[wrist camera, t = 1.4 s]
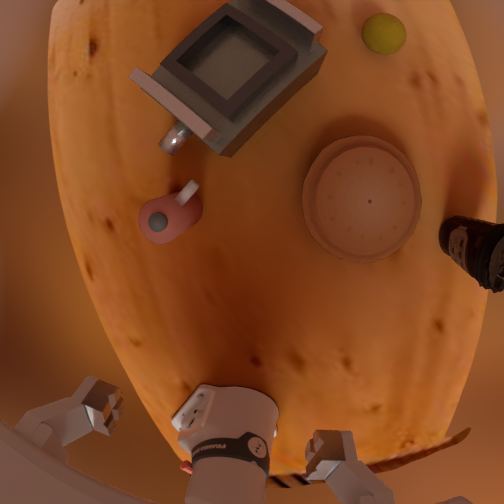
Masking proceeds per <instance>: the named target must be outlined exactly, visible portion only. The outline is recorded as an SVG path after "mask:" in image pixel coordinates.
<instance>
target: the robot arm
mask: <svg viewBox="0 0 504 504" xmlns="http://www.w3.org/2000/svg"><path fill="white" fill-rule="evenodd" d="M121 394H122V390H121V388H120V387H117V386H114V385H112V384H110V383H107V382H105V381H102V380H100V379H98V378H96V377H93V376H91V375H89V376H88V377H86V379H85V380H84V381H83V383H82V384H81V385H80V387H79V388H78V389H77V391H76V392H75V393H74V395H73V396H72V397H71V398H69V397H67V398H64V399H62V400H59V401H56V402H53V403H50V404H47V405H44V406H41V407H38V408H35V409H32V410H29V411H27V412H26V413H25V415H24V416H23V417H22V419H21V420H20V421H19V422H18V424H17V425H16V426H15V428H14V429H12V428H11V427H10V426H8V425H7V424H6V423H5V422H3V421H2V420H1V419H0V504H159V503H156V502H153V501H149V500H147V499H143V498H141V497H138V496H135V495H132V494H130V493H127V492H125V491H122V490H120V489H117V488H114V487H112V486H110V485H108V484H105V483H103V482H101V481H99V480H97V479H94V478H92V477H90V476H88V475H86V474H84V473H82V472H80V471H78V470H76V469H75V468H73V467H71V466H69V465H67V464H66V462H67V460H68V459H69V456H68V454H67V453H66V451H65V449H64V448H63V446H65V445H67V444H69V443H70V442H72V441H74V440H76V439H78V438H80V437H82V436H83V435H85V434H87V433H89V432H90V431H92V430H93V429H94V430H96V431H98V432H101V433H103V434H105V435H108V436H110V435H111V433H112V431H113V429H114V428H115V426H116V425H115V420H117V419H119V418H120V417H121V415H122V412H123V409H124V401H123V399H122V397H121ZM278 416H279V411H278V408H277V406H276V404H275V403H274V402H273V400H272V399H270V398H269V397H268V396H266V395H265V394H263V393H261V392H258V391H256V390H253V389H249V388H244V387H216V386H211V385H206V384H202V385H200V386H199V387H198V388H197V389H196V390H195V392H194V393H193V394H192V395H191V396H190V398H189V399H188V400H187V401H186V402H185V404H184V405H183V406H182V407H181V408H180V410H179V411H178V412H177V413H176V414H175V416H174V417H173V418H172V421H171V423H172V424H173V426H174V427H175V428H176V429H177V430H178V431H179V432H180V433H179V436H178V442H179V444H180V446H181V447H182V448H183V449H184V450H185V451H187V452H188V453H189V454H190V455H191V457H192V464H191V463H190V462H189V461H187V460H185V461H184V462H183V463H182V465H181V469H182V470H184V471H187V472H188V473H190V474H191V473H192V475H191V479H190V482H189V486H188V490H187V493H186V497H185V504H265V480H266V479H267V478H268V474H269V470H270V467H269V465H270V455H271V450H272V445H273V439H274V437H275V436H276V435H277V427H276V423H277V420H278ZM305 459H306V460H307V461H308V462H309V463H308V465H307V466H306V479H314V480H325V482H326V483H327V484H328V486H329V487H330V488H331V490H332V491H333V492H334V494H335V495H336V497H337V498H338V499H339V501H340V502H341V503H342V504H395V501H394V497H393V492H392V490H391V489H389V488H388V487H387V486H386V485H385V484H384V483H383V482H382V481H381V480H380V479H379V478H378V477H377V476H376V475H375V474H374V473H373V472H372V471H371V470H370V469H369V468H368V467H367V466H366V465H365V464H364V463H363V462H362V461H358V459H357V454H356V449H355V444H354V440H353V435H352V432H351V431H339V430H316V431H315V432H314V433H313V438H312V439H310V440H309V442H308V443H307V446H306V451H305ZM436 504H473V503H472V502H471V501H469V500H468V499H466V498H464V497H462V496H458V497H454V498H451V499H448V500H445V501H442V502H440V503H436Z"/></svg>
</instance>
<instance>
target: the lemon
mask: <svg viewBox="0 0 504 504" xmlns="http://www.w3.org/2000/svg"><path fill="white" fill-rule="evenodd" d="M362 38H363V40H364V42H365V44H366V45H367V47H369V48H370V49H371V50H372V51H374V52H376V53H379V54H383V55H389V54H393V53H395V52H397V51H398V50H400V49H401V48H402V46H403V45H404V43H405V41H406V29H405V27H404V25H403V24H402V22H401V21H400V20H399V19H397V18H396V17H395V16H393V15H390V14H387V13H378V14H375V15H373V16H371V17H369V18H368V19H367V20H366V21H365V23H364V25H363V27H362Z"/></svg>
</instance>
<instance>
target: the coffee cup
mask: <svg viewBox="0 0 504 504" xmlns="http://www.w3.org/2000/svg"><path fill="white" fill-rule="evenodd" d="M439 242H440V246H441V248H442V250H443V251H444V253H446V254H447V255H448V256H451V258H452V259H453V260H454V261H455V262H456V263H457V264H458V265H459V266H461V267H462V268H463V269H464V270H465V271H466V272H467V273H468V274H469V275H470V276H471V277H473V278H475V279H476V280H477V281H478V282H479V285H480V287H481V286H483V287H484V288H485V289H492V291H493V293H496V292H498V291H499V292H501V291H503V290H504V224H495V223H491V222H487V221H484V220H479V219H474V218H467V217H464V216H451V217H449V218H448V219H446V220H445V221H444V223H443V225H442V227H441V229H440V234H439Z"/></svg>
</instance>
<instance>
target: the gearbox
mask: <svg viewBox="0 0 504 504" xmlns="http://www.w3.org/2000/svg"><path fill="white" fill-rule="evenodd" d="M323 28H324V27H323V26H322V25H320V24H319V23H318V22H316V21H315V20H314V19H312V18H311V17H309V16H308V15H307V14H305V13H304V12H302V11H301V10H299V9H298V8H296V7H295V6H293V5H292V4H290V3H289V2H287V1H286V0H232V1H231V2H229V3H225V4H224V5H223V6H222V7H220V8H219V9H218V10H217V11H215V12H214V13H213V14H212V15H211V16H209V17H208V18H207V19H206V20H205V21H204V22H202V23H201V24H200V25H199V26H198V27H197V28H196V29H195V30H193V31H192V32H191V33H190V34H189V35H188V36H187V37H186V38H185V39H184V40H183V41H182V42H181V43H180V44H179V45H178V46H177V47H176V48H175V49H174V50H173V51H172V52H171V53H170V54H169V55H168V56H167V57H166V58H165V59H164V60H163V61H162V62H161V63H160V65H161V66H160V67H159V68H158V69H157V70H156V71H155V72H154V73H153V74H152V76H150V75H149V74H147V73H146V72H144V71H143V70H141V69H139V68H138V67H136V68H135V69H134V70H133V72H132V73H131V74H130V75H129V76H128V77H129V78H130V79H132V80H133V81H134V82H135V83H137V84H138V85H139V86H140V87H141V89H142V90H144V91H145V92H146V93H147V94H148V95H150V96H151V97H152V98H153V99H154V100H156V101H157V102H158V103H159V104H160V105H162V106H163V107H164V108H165V109H166V110H168V111H169V112H170V113H171V114H172V115H173V116H175V117H176V118H177V119H178V121H177V122H176V123H175V124H174V125H173V127H172V128H171V129H170V130H169V131H168V132H167V134H166V135H165V136H164V137H163V138H162V140H161V141H160V142H159V143H158V145H159V146H160V147H161V148H162V149H163V150H164V151H165V152H167V153H168V154H170V155H172V156H174V154H175V153H176V152H177V151H178V150H179V149H180V147H181V146H182V145H183V144H184V143H185V142H186V140H187V139H188V138H189V137H190V136H191V135H192V134H193V133H194V134H195V135H197V136H198V137H199V138H200V139H201V140H202V141H203V142H204V143H206V144H207V145H208V146H209V147H210V148H211V149H212V150H213V151H214V152H216V153H217V154H218V155H221V156H225V157H230V158H231V157H232V156H233V155H234V154H235V153H236V152H237V151H238V150H239V149H240V148H241V147H242V146H243V145H244V143H245V142H246V141H247V140H248V139H249V138H250V137H251V136H252V135H253V134H254V133H255V132H256V131H257V130H258V129H259V128H260V127H261V126H262V125H263V124H264V123H265V122H266V121H267V120H268V119H269V118H270V117H271V116H272V115H273V114H274V113H276V112H277V111H278V110H279V109H280V108H281V107H282V106H283V105H284V104H285V103H286V102H287V101H288V100H289V99H290V98H291V97H292V96H293V95H295V94H296V93H297V92H298V91H299V90H300V89H301V88H302V87H303V86H304V85H305V84H307V83H308V82H309V81H310V80H311V79H312V78H313V77H314V76H316V75H317V74H318V72H319V69H320V67H321V65H322V63H323V60H324V58H325V56H326V54H327V50H326V49H325V48H324V47H323V46H321V45H320V44H319V43H318V42H319V39H320V37H321V34H322V31H323Z"/></svg>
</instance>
